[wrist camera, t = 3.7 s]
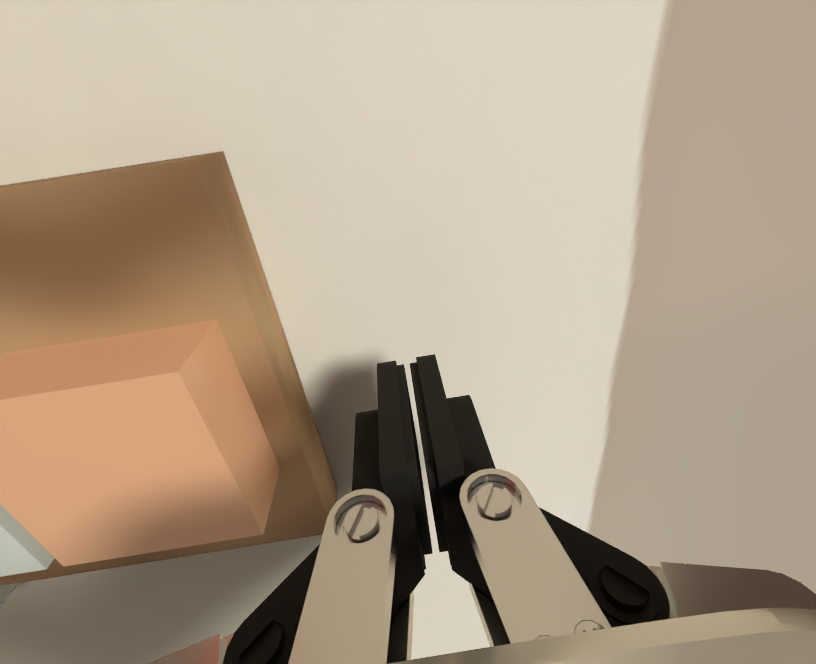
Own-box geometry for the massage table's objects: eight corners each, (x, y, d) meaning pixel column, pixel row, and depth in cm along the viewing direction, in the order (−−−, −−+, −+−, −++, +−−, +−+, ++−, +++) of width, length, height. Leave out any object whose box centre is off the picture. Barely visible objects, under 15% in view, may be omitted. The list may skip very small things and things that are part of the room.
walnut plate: (-292, 231, 11) (-423, 254, 9) (223, 151, 11) (194, 159, 9) (27, 540, 18) (-11, 587, 16) (337, 490, 18) (333, 532, 16)
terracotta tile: (1, 353, 11) (-91, 414, 9) (216, 319, 11) (178, 371, 9) (111, 495, 14) (63, 566, 12) (280, 468, 14) (263, 534, 12)
